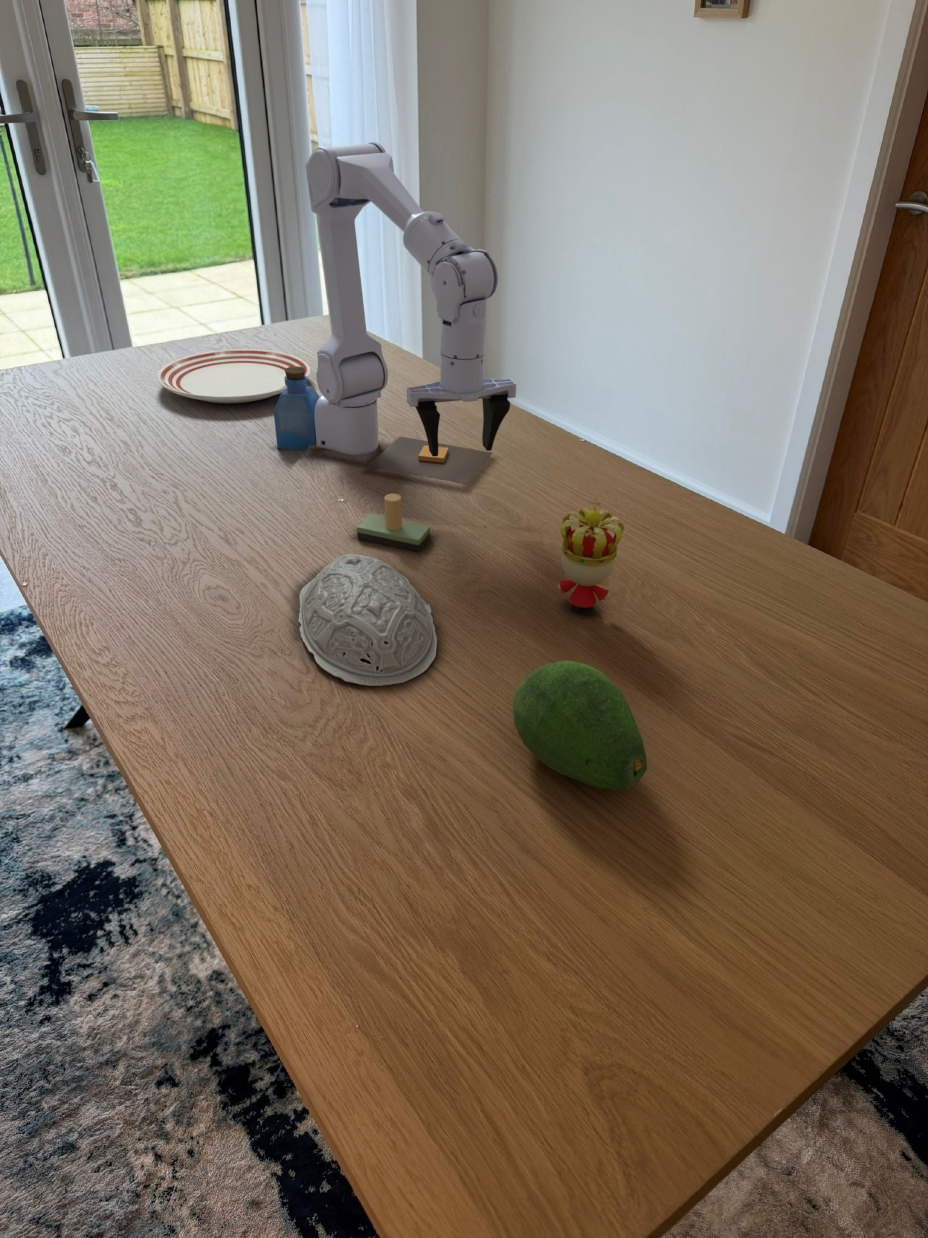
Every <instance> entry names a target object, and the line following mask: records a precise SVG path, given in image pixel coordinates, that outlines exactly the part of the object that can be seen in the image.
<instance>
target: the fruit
mask: <svg viewBox="0 0 928 1238" xmlns="http://www.w3.org/2000/svg"><path fill="white" fill-rule="evenodd" d="M511 712H512V719H513V724H514V727H515V729H516V732H517V734H518V736H519V739H520V740H521V741H522V743H523V745H524V746H525V747H526V748H527V750H528V751H529V752H530V753H531V754H532V755H533V757H534V758H535V759H537V760H538V761H540V762H541V763H543V764H544V765H546V766H547V767H549V768H550V769H552V770H553V771H555V772H557V773H559V774H561V775H563V776H566V777H568V778H570V779H573V780H576V781H578V782H582V783H584V784H586V785H589V786H592V787H594V788H597V789H605V790H615V791H617V790H618V791H622V790H626V789H628V788H631V787H634V786H635V785H636V784H637V783H639V781H640V780H641V779H642V778H643V777H644V775H645V773H646V772H647V770H648V762H647V755H646V749H645V745H644V744H645V743H644V739H643V737H642V734H641V732H640V730H639V728H638V725H637V722H636V720H635V717H634V714H633V712H632V709H631V707H630V705H629V703H628V701H627V699H626V698H625V696H624V694H623V692H622V691H621V689H620V688H619V687H618V686H617V685H615V684H614V682H612V681H611V680H610V679H609V678H608V677H607V676H606V675H605V674H603V672H602V671H600V670H598V669H596V668H594V667H592V666H590V665H588V664H585V663H582V662H578V661H575V660H566V659H565V660H559V661H554V662H550V663H547V664H543V665H541V666H539V667H537V668H536V669H534V670H533V671H531V673H528V675H526V676H525V677H524V678H523V680H521V682H520V684H519V685H518V686H517V689H516V691H515V693H514V695H513V704H512V711H511Z"/></svg>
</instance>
